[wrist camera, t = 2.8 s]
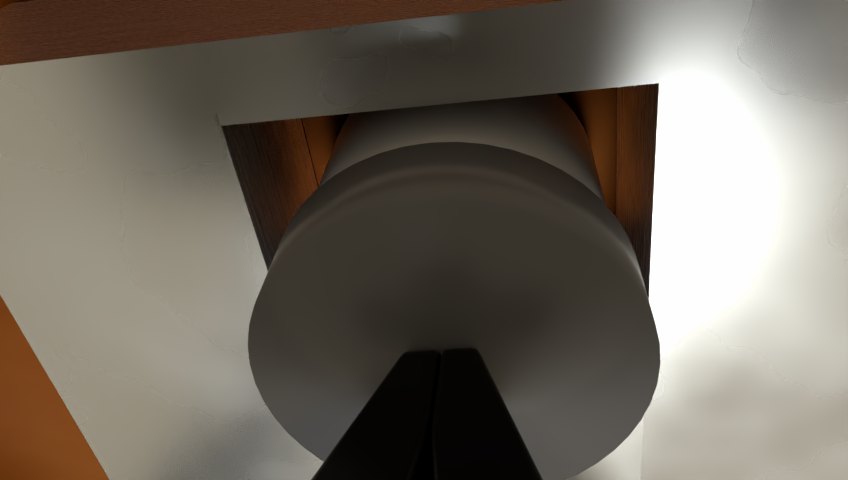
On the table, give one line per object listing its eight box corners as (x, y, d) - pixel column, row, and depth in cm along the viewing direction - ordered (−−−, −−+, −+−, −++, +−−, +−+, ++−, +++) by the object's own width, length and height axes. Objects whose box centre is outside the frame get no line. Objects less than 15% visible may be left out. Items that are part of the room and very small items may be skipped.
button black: (607, 289, 13) (652, 496, 9) (349, 304, 13) (300, 504, 10) (609, 28, 10) (672, 180, 7) (288, 63, 11) (194, 217, 7)
